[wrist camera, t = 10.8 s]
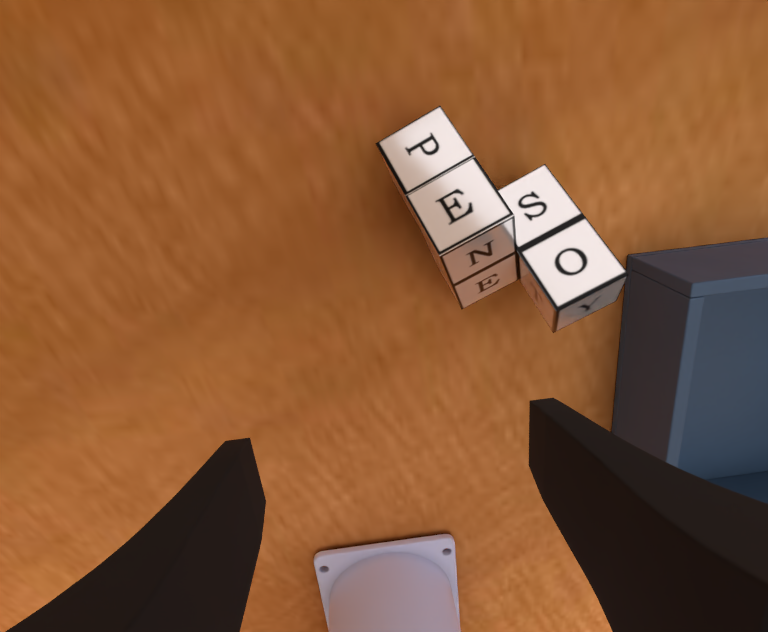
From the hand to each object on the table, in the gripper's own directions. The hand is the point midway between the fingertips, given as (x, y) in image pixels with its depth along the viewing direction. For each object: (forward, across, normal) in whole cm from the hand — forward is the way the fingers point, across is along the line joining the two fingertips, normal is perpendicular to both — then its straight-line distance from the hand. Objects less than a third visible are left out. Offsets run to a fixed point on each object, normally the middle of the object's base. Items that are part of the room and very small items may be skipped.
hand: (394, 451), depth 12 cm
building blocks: (+11, -5, -4) cm, 12 cm away
